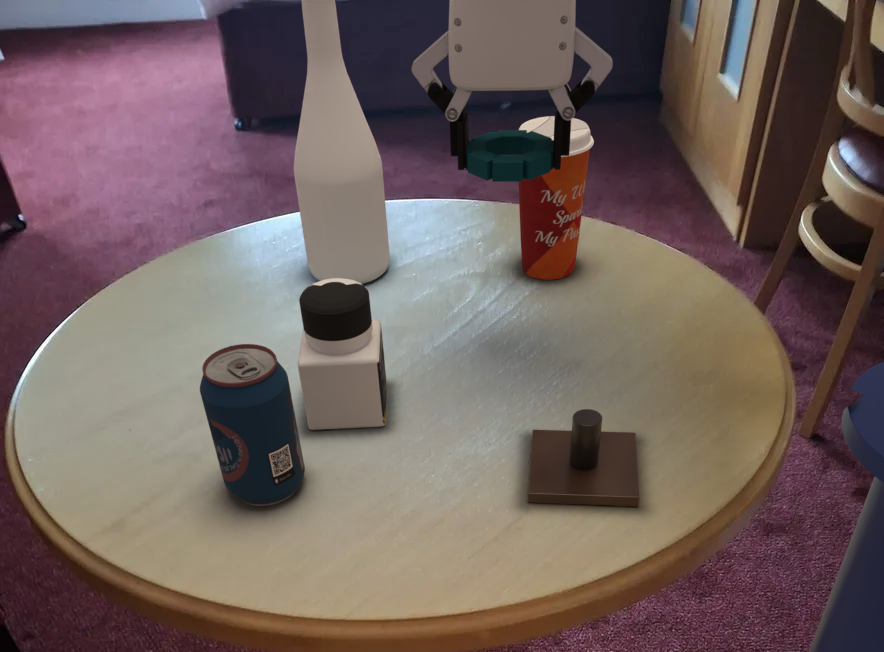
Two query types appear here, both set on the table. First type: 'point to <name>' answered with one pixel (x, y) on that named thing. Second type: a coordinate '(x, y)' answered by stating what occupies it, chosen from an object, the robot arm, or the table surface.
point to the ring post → (584, 464)
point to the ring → (524, 150)
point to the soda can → (252, 423)
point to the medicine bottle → (341, 357)
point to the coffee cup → (554, 205)
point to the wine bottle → (337, 163)
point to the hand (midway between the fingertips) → (509, 162)
